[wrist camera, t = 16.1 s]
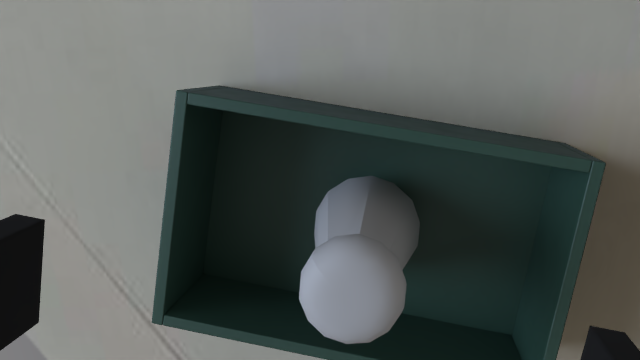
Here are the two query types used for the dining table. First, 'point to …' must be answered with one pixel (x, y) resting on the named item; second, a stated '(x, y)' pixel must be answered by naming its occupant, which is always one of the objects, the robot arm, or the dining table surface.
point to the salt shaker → (359, 260)
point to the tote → (407, 174)
